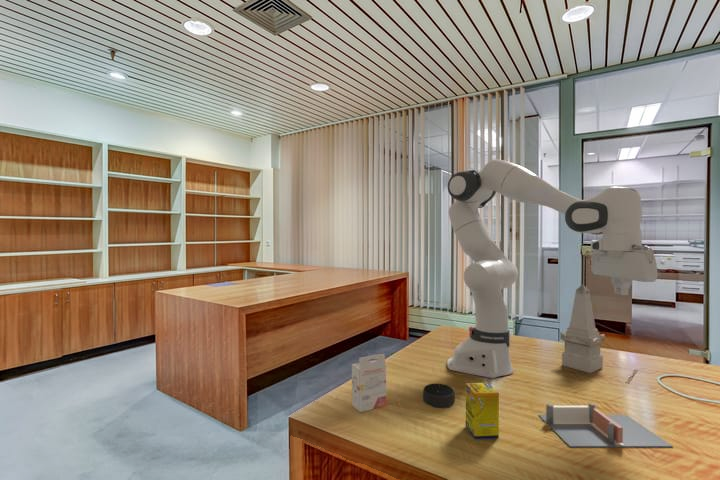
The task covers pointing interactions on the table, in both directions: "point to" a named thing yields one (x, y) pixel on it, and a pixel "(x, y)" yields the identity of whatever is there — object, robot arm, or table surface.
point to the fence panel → (602, 423)
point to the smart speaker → (438, 395)
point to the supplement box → (482, 410)
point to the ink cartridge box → (369, 383)
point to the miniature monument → (582, 336)
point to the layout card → (597, 438)
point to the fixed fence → (575, 416)
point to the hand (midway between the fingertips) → (621, 294)
